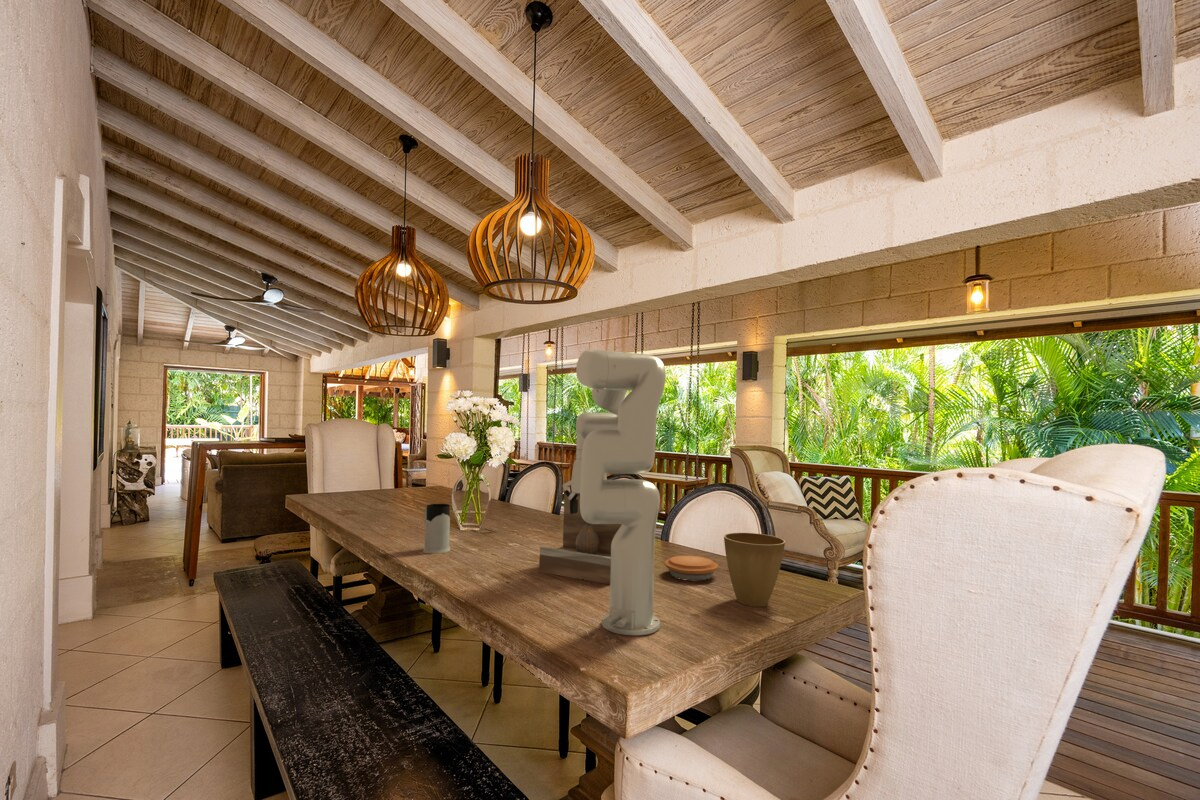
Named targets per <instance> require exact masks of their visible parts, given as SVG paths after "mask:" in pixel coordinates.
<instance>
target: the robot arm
mask: <svg viewBox="0 0 1200 800" xmlns="http://www.w3.org/2000/svg"><path fill="white" fill-rule="evenodd" d="M665 367H666V366H665V364H664V362H663V361H662V360H661V359H660V358H659V357H657V356H655V355H651V354H645V353H634V352H624V351H620V350H607V349H605V350H604V349H586V350H584V351H583V352H581V354H580V356H579V357H578V359H577V362H576V369H575V370H576V371H575V372H576V378H577V380H578V382H579V383H580V384H581V385H582V386H585V387H587V388H590V389H591V390H592V391H591V397H592V401H593V403H595V404H596V405H597V406H598V407H599V408H601V409H602V410H604V411H607V412H582V413H580V414H579V415H578V416H577V418H576V421H575V430H576V451H575V452H576V456H575V458H576V460H574V461H573V465H572V473H571V479H570V480H569V481H567V482H565V483H563V484H562V488H563V491H564V492H565V494H566V495H567V496H568V499H569V500H570V514H574V513H577V512H578V499H576V498H577V497H578V495H579V494H580V512H581V516H582V518H583V520H584V521H585V522H587V523H590V524H622V525H621V527H620V528H619V530H618V531H617V532H616V534H615V536H614V538H613V540H612V544H611V568H610V584H609V613H606V614H605V615H604V616H603V617H602V619H601V625H602V627H603V629H606V630H607V631H609V632H610V633H614V634H617V635H622V636H623V635H624V636H633V637H634V636H645V635H650V634H653V633H656V632H657V631H659V630H660V628H661V620H660V619H659V618H658V617H657V616H656V615H654V590H655V589H654V588H655V587H654V584H655V583H654V580H655V540H656V529H657V521H658V516H659V510H660V504H661V501H660V500H661V497H660V496H661V495H660V491H659V489H658V487H657V485H655V484H654V483H652V482H651V481H649V480H645V479H633V478H632V479H626V478H625V479H621V478H620V479H608V478H607V477H608V475H609V474H610V475H611V474H612V475H635V474H636V475H637V474H644V473H648V472H650V471H651V470H652V469H653V467H654V464H655V457H656V446H657V445H656V443H657V441H656V440H657V422H658V421H657V418H658V410H659V407H660V406H659V405H660V403H661V400H662V396H663V393H664V390H665V386H666V385H665V384H666V374H667V373H666V369H665ZM628 391H629V393H628V394H627V392H628ZM570 487H571V489H570Z"/></svg>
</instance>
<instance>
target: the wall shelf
mask: <svg viewBox="0 0 1200 800" xmlns="http://www.w3.org/2000/svg"><path fill="white" fill-rule="evenodd" d="M563 493H564V494H563V526H562V527H563V528H562V529H563V530H562V546H561V547H557V548H554V547H548V546H540V547H539V558H538V559H539V563H538V564H539V565H538V566H539V567H538V569H539V570H538V572H539V573H546V574H551V575H555V576H556V575H557V576H562V577H567V578H573V579H577V578H578V579H579V580H582V579H584V581H588V580H589V582H593V581H594V583H599V584H605V585H610V568H611V544H612V540H613V538H614V536H615V534H616V532H617V531H618V530H619V528H620V527H621V525H622V524H590V523H587V522H585V521H584V520H583V518H582V516H581V512H580V494H579V495H578V497H577V498H576V499H578V512H577V513H574V514H570V500H569V499H568V496H567V495H566V494H565V491H564V492H563ZM584 525H592V527H593V529H594V531H595V532H596V533H597V535H598V538H599V549H598V551H597V553H596V554H595V555H594V554H587V553H581V552H577V549H576V538H577V535H578V534H579V532H580V531H581V530H582V528H583V526H584Z"/></svg>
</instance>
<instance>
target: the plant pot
mask: <svg viewBox="0 0 1200 800" xmlns="http://www.w3.org/2000/svg"><path fill="white" fill-rule="evenodd" d="M723 543H724V552H725V557H726V563H727V569H728V573H729V577H730V580H731V581H730V582H731V585H732V588H733V592H734V594H735V598H736V600H737V602H738V603H740V604H742V605H744V606H745V605H746V606H749V607H750V606H751V607H764V606H767V605H768V603H769V602H770V599H771V596H772V594H773V592H774V589H775V586H776V582H777V579H778V577H779V572H780V570H781V565H782V562H783V561H782V560H783V557H784V552H785V545H786V540H784V539H783V538H780V537H777V536H775V535H770V534H764V533H755V532H731V533H730V532H729V533H725V534H723Z"/></svg>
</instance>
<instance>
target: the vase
mask: <svg viewBox="0 0 1200 800" xmlns="http://www.w3.org/2000/svg"><path fill="white" fill-rule="evenodd" d="M576 549H577V552H581V553H587V554H594V555H595V554H596V553H597V551H598V549H599V538H598V535H597V533H596V532H595V531H594V529H593V527H592V525H584V526H583V528H582V530H581V531H580V532H579V534H578V535H577V538H576Z"/></svg>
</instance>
